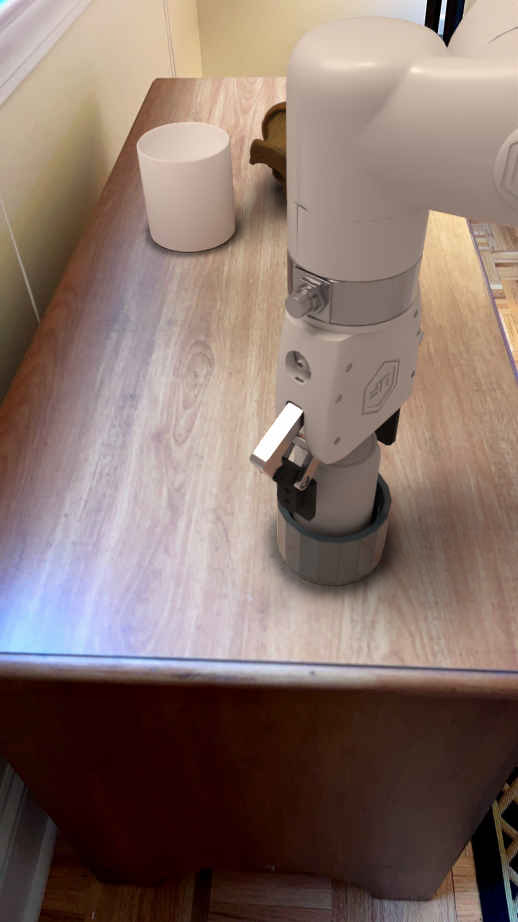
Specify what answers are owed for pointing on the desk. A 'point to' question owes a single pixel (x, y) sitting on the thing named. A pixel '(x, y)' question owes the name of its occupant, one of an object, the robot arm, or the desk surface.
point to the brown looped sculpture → (273, 145)
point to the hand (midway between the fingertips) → (338, 470)
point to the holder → (335, 545)
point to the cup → (188, 185)
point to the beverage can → (344, 490)
